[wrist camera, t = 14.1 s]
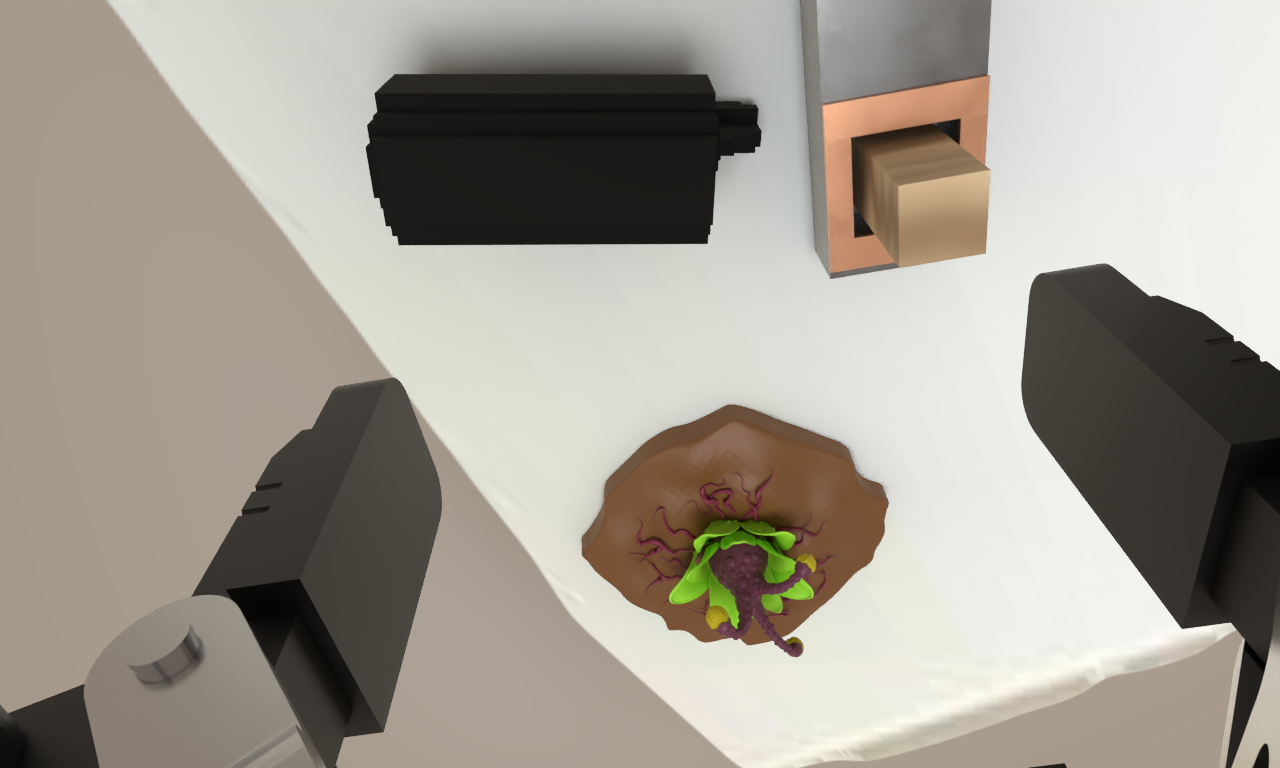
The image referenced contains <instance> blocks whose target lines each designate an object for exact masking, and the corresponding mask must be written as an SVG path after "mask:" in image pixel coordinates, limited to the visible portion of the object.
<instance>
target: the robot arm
mask: <svg viewBox="0 0 1280 768" xmlns="http://www.w3.org/2000/svg"><path fill="white" fill-rule="evenodd" d="M1233 337H1234V336H1233V335H1231V334H1230V333H1229V332H1227V331H1226V330H1225V329H1223V328H1222V327H1221V326H1219V325H1218V324H1217V323H1215V322H1214V321H1213V320H1211V319H1210V318H1209V317H1207V316H1206V315H1205V314H1203V313H1202V312H1199V311H1197V310H1194V309H1192V308H1189V307H1186V306H1184V305H1181V304H1179V303H1176V302H1173V301H1171V300H1168V299H1166V298H1163V297H1160V296H1158V295H1157V296H1151V297H1150V296H1148V295H1147V294H1146V293H1145V292H1143V291H1142V290H1141V289H1140V288H1138V287H1137V286H1136V285H1135V284H1133V283H1132V282H1131V281H1130V280H1128V279H1127V278H1126V277H1125V276H1123V275H1122V274H1121V273H1120V272H1118V271H1117V270H1116V269H1115V268H1113V267H1112V266H1110V265H1108V264H1096V265H1090V266H1084V267H1078V268H1072V269H1066V270H1059V271H1053V272H1047V273H1041V274H1039V275H1038V276H1037V277H1036V278H1035V279H1034V281H1033V283H1032V285H1031V289H1030V295H1029V305H1028V316H1027V327H1026V338H1025V348H1024V359H1023V370H1022V382H1021V388H1022V399H1023V404H1024V408H1025V412H1026V415H1027V418H1028V420H1029V423H1030V425H1031V427H1032V429H1033V430H1034V432H1035V433H1036V434H1037V436H1038V437H1039V438H1040V440H1041V441H1042V442H1043V444H1044V445H1045V446H1046V448H1047V449H1048V450H1049V452H1050V453H1051V454H1052V456H1053V457H1054V458H1055V460H1056V461H1057V462H1058V464H1059V465H1060V466H1061V468H1062V469H1063V470H1064V472H1065V473H1066V474H1067V476H1068V477H1069V478H1070V480H1071V481H1072V482H1073V484H1074V485H1075V486H1076V488H1077V489H1078V491H1079V492H1080V493H1081V495H1082V496H1083V497H1084V499H1085V500H1086V501H1087V503H1088V504H1089V505H1090V507H1091V508H1092V509H1093V511H1094V512H1095V513H1096V515H1097V516H1098V517H1099V519H1100V520H1101V521H1102V523H1103V524H1104V525H1105V527H1106V528H1107V529H1108V531H1109V532H1110V533H1111V535H1112V536H1113V537H1114V539H1115V540H1116V541H1117V543H1118V544H1119V545H1120V547H1121V548H1122V549H1123V551H1124V552H1125V553H1126V555H1127V556H1128V557H1129V559H1130V560H1131V561H1132V563H1133V564H1134V565H1135V567H1136V568H1137V569H1138V571H1139V572H1140V573H1141V575H1142V576H1143V577H1144V579H1145V580H1146V581H1147V583H1148V584H1149V585H1150V587H1151V588H1152V589H1153V591H1154V592H1155V593H1156V595H1157V596H1158V597H1159V599H1160V600H1161V601H1162V603H1163V604H1164V606H1165V607H1166V608H1167V610H1168V611H1169V612H1170V614H1171V615H1172V616H1173V618H1174V619H1175V620H1176V622H1177V623H1178V624H1179V626H1180V627H1181V628H1182V629H1185V628H1193V627H1200V626H1208V625H1215V624H1223V623H1230V622H1231V623H1232V624H1233V626H1234V627H1235V628H1236V629H1237V630H1238V632H1239V633H1240V634H1241V635H1242V636H1243V639H1242V642H1241V645H1240V648H1239V651H1238V655H1237V658H1236V662H1235V667H1234V674H1233V680H1232V687H1231V693H1230V699H1229V706H1228V712H1227V718H1226V725H1225V731H1224V738H1223V744H1222V750H1221V757H1220V763H1219V768H1280V371H1279V370H1278V369H1276V368H1275V367H1274V366H1272V365H1271V364H1270V363H1268V362H1267V361H1264V362H1261V361H1260V356H1259V355H1258V354H1257V353H1255V352H1254V351H1253V350H1251V349H1250V348H1249V347H1247V346H1246V345H1245V344H1243V343H1242V342H1241V341H1236V342H1235V341H1234V339H1233ZM255 487H256V492H252V493H251V495H250V497H249V498H248V500H247V502H246V503H245V505H244V507H243V508H242V516H238V517H237V519H236V521H235V522H234V524H233V526H232V527H231V529H230V531H229V533H228V534H227V536H226V538H225V540H224V541H223V543H222V545H221V546H220V548H219V550H218V552H217V553H216V555H215V557H214V559H213V560H212V562H211V564H210V566H209V567H208V569H207V571H206V572H205V574H204V576H203V578H202V579H201V581H200V583H199V584H198V586H197V588H196V590H195V591H194V593H193V595H192V596H191V597H188V598H185V599H182V600H178V601H175V602H173V603H170V604H168V605H165V606H163V607H161V608H159V609H157V610H155V611H153V612H151V613H149V614H148V615H146V616H144V617H143V618H141V619H139V620H138V621H136V622H135V623H134V624H132V625H131V626H129V627H128V628H127V629H126V630H124V631H123V632H122V633H121V634H120V635H118V636H117V637H116V638H115V639H114V640H113V641H112V642H111V643H110V644H109V645H108V646H107V647H106V648H105V649H104V651H103V652H102V653H101V654H100V656H99V657H98V658H97V659H96V661H95V663H94V664H93V666H92V668H91V669H90V671H89V674H88V676H87V679H86V681H85V684H83V685H81V686H78V687H75V688H73V689H70V690H68V691H65V692H62V693H60V694H57V695H55V696H52V697H49V698H47V699H44V700H42V701H39V702H37V703H34V704H31V705H29V706H26V707H24V708H21V709H18V710H16V711H13V712H11V713H7V712H6V711H5V710H4V709H3V707H1V705H0V768H338V767H337V765H336V761H337V758H338V755H339V752H340V748H341V745H342V742H343V739H344V737H350V736H358V735H365V734H373V733H380V732H384V728H385V724H386V721H387V717H388V713H389V709H390V706H391V702H392V698H393V695H394V691H395V687H396V683H397V679H398V676H399V672H400V668H401V665H402V660H403V657H404V653H405V650H406V646H407V642H408V638H409V635H410V631H411V627H412V623H413V619H414V616H415V612H416V608H417V604H418V600H419V597H420V593H421V589H422V586H423V582H424V578H425V574H426V571H427V567H428V563H429V559H430V555H431V552H432V548H433V544H434V540H435V537H436V533H437V529H438V526H439V522H440V517H441V510H442V497H441V488H440V482H439V478H438V474H437V471H436V468H435V465H434V463H433V460H432V458H431V455H430V452H429V450H428V447H427V444H426V442H425V439H424V437H423V434H422V431H421V429H420V426H419V424H418V421H417V418H416V416H415V413H414V411H413V408H412V406H411V403H410V400H409V398H408V395H407V393H406V390H405V389H404V387H403V385H402V384H401V382H400V381H399V380H398V379H396V378H387V379H381V380H375V381H369V382H362V383H356V384H350V385H344V386H339V387H336V388H335V389H334V390H333V391H332V393H331V394H330V397H329V398H328V400H327V402H326V404H325V406H324V408H323V409H322V412H321V413H320V415H319V417H318V419H317V420H316V422H315V424H314V426H313V428H312V429H308V430H302V431H301V432H300V433H298V434H297V435H296V436H295V437H294V438H293V439H292V440H291V441H290V442H289V443H287V444H286V445H285V446H284V447H283V448H282V449H281V450H280V451H279V452H278V453H277V454H275V455H274V456H273V457H272V458H271V460H270V462H269V464H268V465H267V467H266V469H265V470H264V472H263V474H262V476H261V477H260V479H259V481H258V483H257V484H256V486H255ZM1031 768H1067V767H1066V765H1065V764H1064V763H1063V764H1056V765H1047V766H1039V767H1031Z"/></svg>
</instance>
